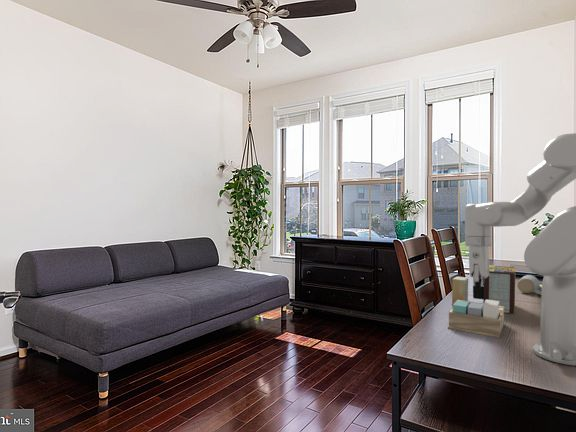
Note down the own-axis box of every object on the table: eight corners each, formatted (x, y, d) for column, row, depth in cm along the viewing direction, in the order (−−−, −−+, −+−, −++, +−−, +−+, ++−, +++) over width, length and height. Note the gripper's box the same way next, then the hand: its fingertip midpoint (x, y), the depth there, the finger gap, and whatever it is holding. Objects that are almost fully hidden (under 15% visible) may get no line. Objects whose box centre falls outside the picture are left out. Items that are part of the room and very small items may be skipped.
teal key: (465, 322, 118) (465, 306, 117) (452, 320, 120) (453, 304, 120) (468, 316, 123) (469, 302, 123) (456, 314, 126) (457, 300, 125)
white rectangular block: (496, 322, 113) (497, 306, 112) (483, 319, 115) (483, 304, 115) (499, 316, 118) (499, 301, 118) (485, 314, 120) (486, 299, 120)
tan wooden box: (499, 337, 110) (500, 317, 110) (447, 328, 118) (448, 309, 118) (503, 323, 123) (504, 305, 123) (456, 316, 132) (457, 298, 131)
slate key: (480, 324, 115) (481, 309, 115) (467, 322, 117) (467, 307, 117) (483, 319, 121) (483, 304, 121) (470, 317, 123) (471, 302, 123)
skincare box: (456, 306, 144) (456, 276, 144) (468, 308, 141) (468, 277, 141) (451, 310, 139) (452, 278, 139) (463, 312, 136) (464, 280, 136)
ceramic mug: (515, 292, 169) (516, 276, 169) (520, 289, 175) (521, 273, 174) (543, 297, 161) (544, 279, 161) (547, 294, 167) (548, 277, 167)
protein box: (513, 305, 147) (514, 266, 147) (514, 314, 134) (515, 272, 134) (484, 301, 153) (485, 264, 152) (482, 310, 139) (483, 270, 139)
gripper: (488, 243, 110) (489, 304, 110) (493, 240, 122) (494, 295, 122) (461, 242, 114) (462, 301, 114) (468, 240, 126) (469, 293, 126)
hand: (478, 298), depth 118 cm, fingers closed
